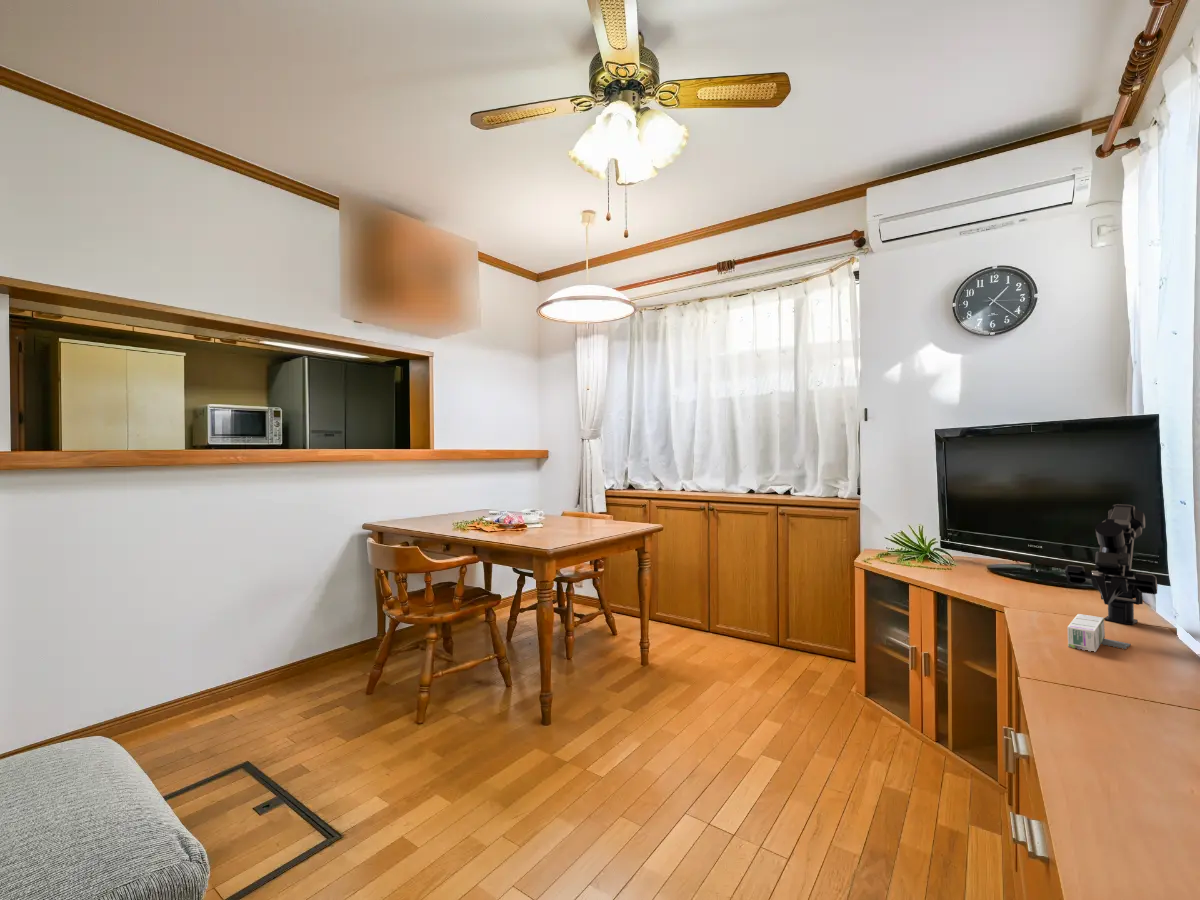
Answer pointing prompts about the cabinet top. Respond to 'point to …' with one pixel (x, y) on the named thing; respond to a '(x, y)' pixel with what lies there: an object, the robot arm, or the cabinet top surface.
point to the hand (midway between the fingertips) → (1106, 603)
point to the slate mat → (1115, 643)
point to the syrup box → (1086, 632)
